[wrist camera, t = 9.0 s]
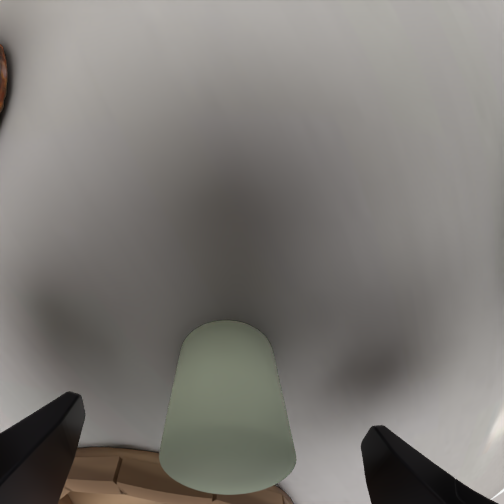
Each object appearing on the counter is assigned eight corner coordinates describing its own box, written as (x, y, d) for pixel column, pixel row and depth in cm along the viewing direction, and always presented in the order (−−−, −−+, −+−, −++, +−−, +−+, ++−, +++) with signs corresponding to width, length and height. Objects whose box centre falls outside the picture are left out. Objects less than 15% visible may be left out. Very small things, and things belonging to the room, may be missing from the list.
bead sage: (283, 327, 11) (314, 429, 6) (262, 397, 12) (277, 495, 7) (184, 312, 11) (158, 415, 6) (177, 386, 12) (159, 486, 7)
